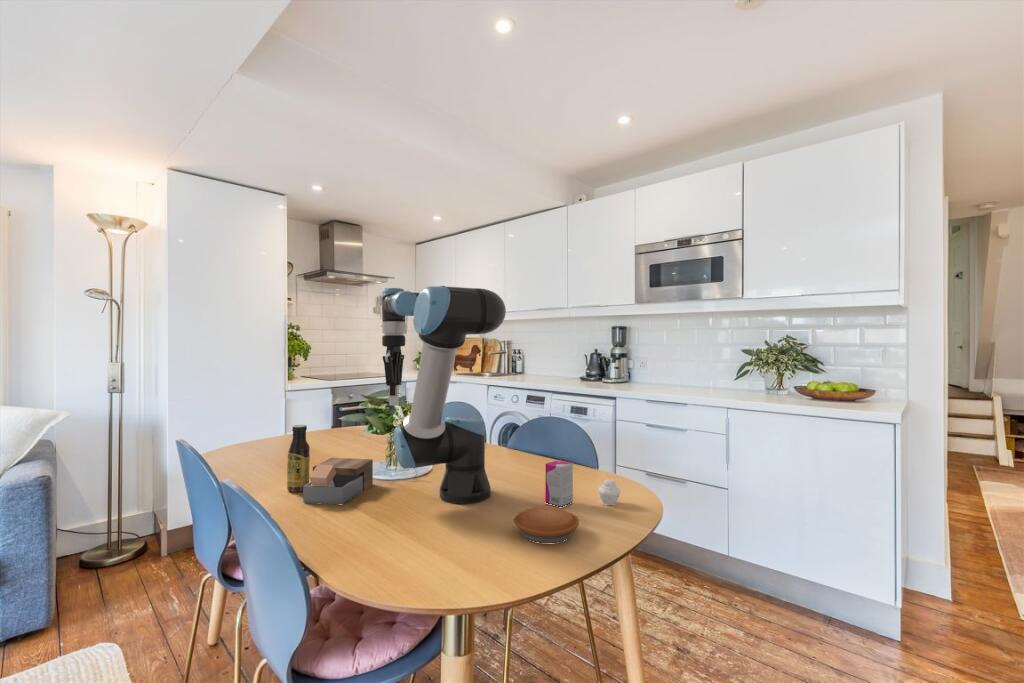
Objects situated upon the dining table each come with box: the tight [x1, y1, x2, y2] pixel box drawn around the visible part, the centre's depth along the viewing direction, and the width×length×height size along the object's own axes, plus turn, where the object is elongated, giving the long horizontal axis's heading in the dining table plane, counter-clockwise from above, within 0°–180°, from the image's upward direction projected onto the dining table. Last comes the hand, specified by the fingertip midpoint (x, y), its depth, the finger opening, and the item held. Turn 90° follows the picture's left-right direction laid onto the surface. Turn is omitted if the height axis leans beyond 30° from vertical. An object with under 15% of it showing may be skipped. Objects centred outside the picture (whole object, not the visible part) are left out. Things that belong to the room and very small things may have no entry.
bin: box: [302, 475, 364, 506], centre depth 139 cm, size 12×12×5 cm
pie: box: [513, 505, 580, 544], centre depth 112 cm, size 16×16×5 cm
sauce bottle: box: [286, 424, 311, 493], centre depth 146 cm, size 6×6×20 cm
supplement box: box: [544, 459, 574, 508], centre depth 133 cm, size 6×6×12 cm
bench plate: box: [312, 457, 374, 491], centre depth 146 cm, size 14×11×8 cm
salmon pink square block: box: [309, 463, 336, 486], centre depth 135 cm, size 5×5×3 cm
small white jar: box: [597, 478, 621, 506], centre depth 133 cm, size 6×6×7 cm
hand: (394, 404), depth 158 cm, fingers closed
